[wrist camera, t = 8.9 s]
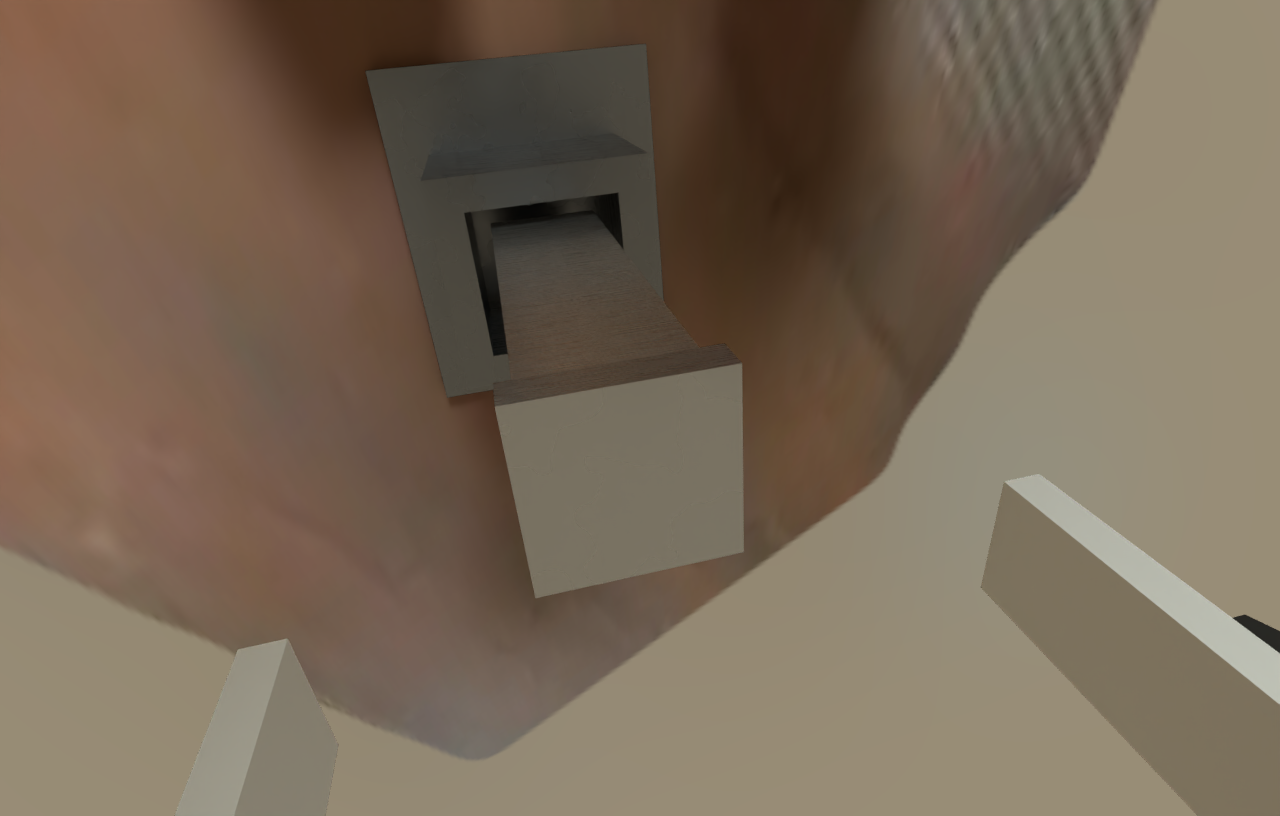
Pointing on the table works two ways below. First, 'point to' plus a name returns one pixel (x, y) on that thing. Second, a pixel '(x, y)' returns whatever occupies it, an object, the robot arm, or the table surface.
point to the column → (610, 413)
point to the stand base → (512, 177)
